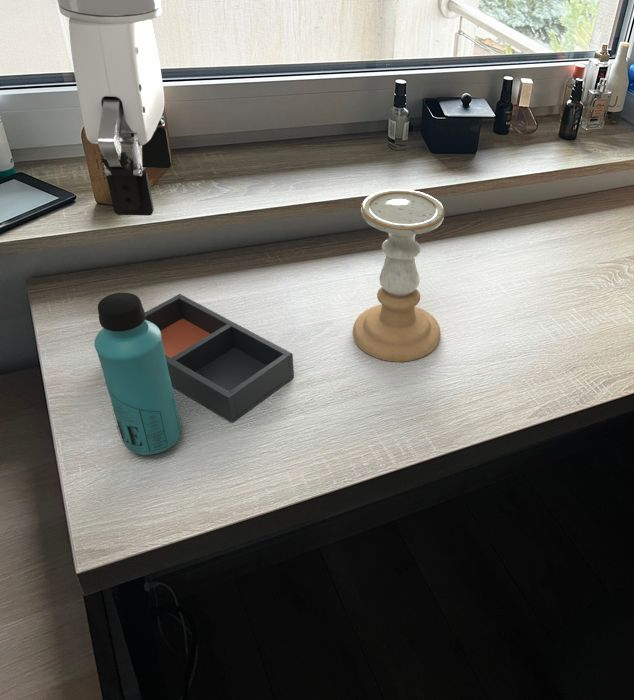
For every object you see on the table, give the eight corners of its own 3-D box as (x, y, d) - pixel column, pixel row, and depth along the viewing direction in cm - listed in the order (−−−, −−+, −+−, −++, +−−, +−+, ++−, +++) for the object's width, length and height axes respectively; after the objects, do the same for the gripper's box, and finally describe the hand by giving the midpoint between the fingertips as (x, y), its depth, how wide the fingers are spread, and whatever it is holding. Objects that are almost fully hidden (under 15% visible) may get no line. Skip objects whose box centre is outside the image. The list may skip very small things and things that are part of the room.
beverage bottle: (194, 428, 85) (167, 286, 72) (169, 470, 79) (136, 325, 67) (139, 420, 85) (103, 277, 72) (111, 462, 80) (67, 315, 67)
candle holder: (445, 362, 99) (458, 232, 86) (354, 363, 97) (354, 231, 84) (434, 309, 108) (445, 186, 96) (351, 310, 106) (351, 183, 94)
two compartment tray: (232, 423, 86) (228, 398, 83) (118, 355, 93) (111, 329, 91) (294, 377, 93) (292, 353, 91) (184, 317, 101) (179, 293, 98)
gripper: (85, -36, 63) (122, 149, 74) (21, 18, 50) (78, 234, 61) (175, -29, 65) (199, 152, 75) (136, 25, 52) (172, 235, 62)
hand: (145, 188), depth 68 cm, fingers open, 9 cm apart
